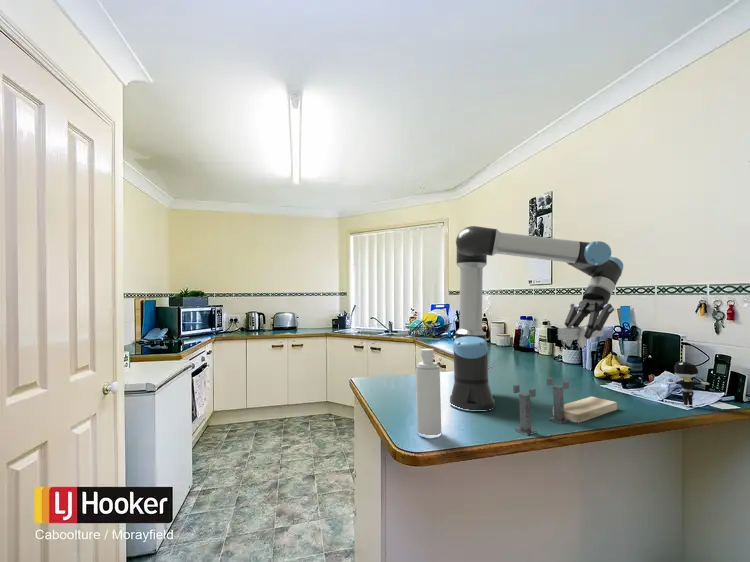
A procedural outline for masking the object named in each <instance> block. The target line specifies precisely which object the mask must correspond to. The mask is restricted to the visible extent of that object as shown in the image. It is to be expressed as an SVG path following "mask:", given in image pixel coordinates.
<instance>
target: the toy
mask: <svg viewBox="0 0 750 562" xmlns="http://www.w3.org/2000/svg"><path fill="white" fill-rule="evenodd" d="M673 368H674V371H673V373H674V375H675V376H676V377H677V379H680V380H678V381H667V380H665V382H664V383H665V384H667V385H680V386H681V387H682V390H681V394H682V398H683V405H692V406H693V397H694V395H695V394H694V391H693V388H694V387H695V386H696V385H697V386H699V385H700V386H701V385H707V386H709V385H710V383H709V382H707V381H701V382H700V381H699V382H698V381H694V380H692V379H691V378H694V377H696V376H697V375H698V374H699V369H698V368H697V366H696V365H695V364H693V363H690V362H686V361H680V360H679V361H677V362H675V364H674V365H673Z"/></svg>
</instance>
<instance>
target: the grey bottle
mask: <svg viewBox="0 0 750 562" xmlns="http://www.w3.org/2000/svg"><path fill="white" fill-rule="evenodd" d="M434 350H435V349H434V348H421V349H420V356H421V361H420V362H418V363H417V364H416V365H415V389H416V390H415V392H416V396H415V397H416V398H415V399H416V401H415V402H416V432H417V431H418V432H419V433H421V434H425V435H438V434H440V433H441V434H442V406H441V405H442V404H441V400H442V399H441V373H440V372H441V369H440V368H441V367H440V366H441V365H439V364H438V363H437V362H435V361H434V357H435V356H434V355H435V354H434V353H435V351H434Z"/></svg>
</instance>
